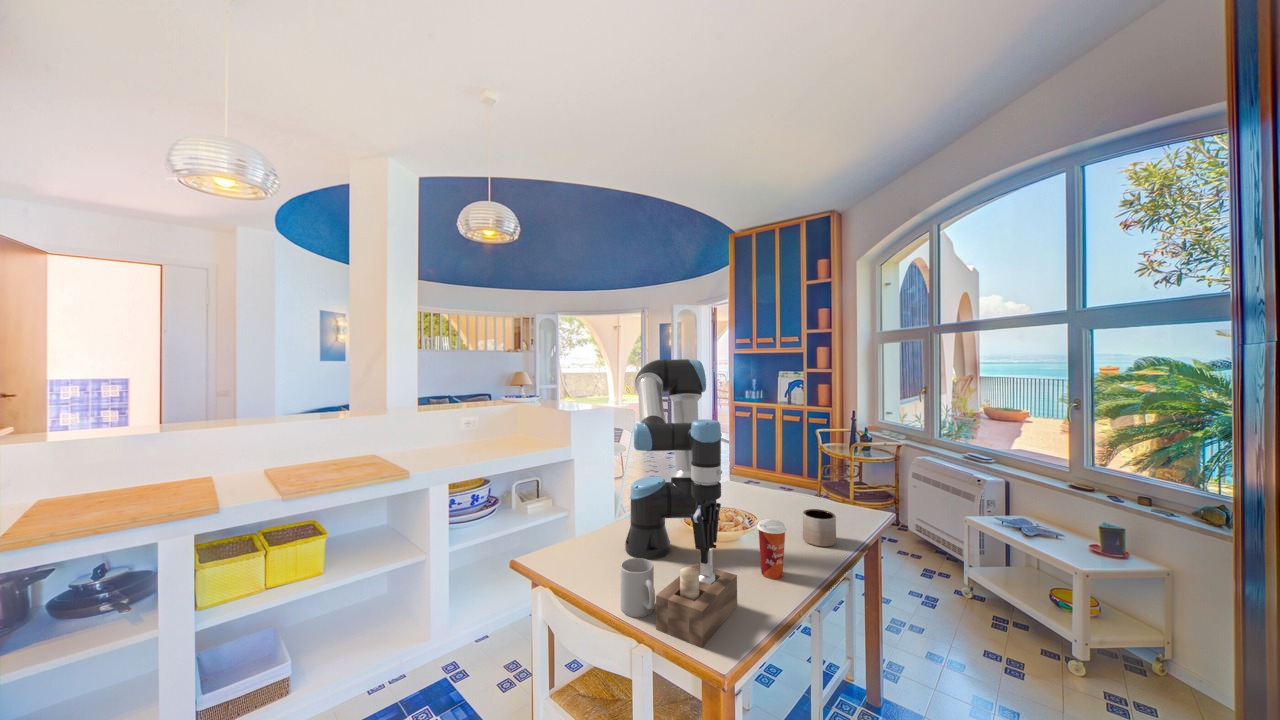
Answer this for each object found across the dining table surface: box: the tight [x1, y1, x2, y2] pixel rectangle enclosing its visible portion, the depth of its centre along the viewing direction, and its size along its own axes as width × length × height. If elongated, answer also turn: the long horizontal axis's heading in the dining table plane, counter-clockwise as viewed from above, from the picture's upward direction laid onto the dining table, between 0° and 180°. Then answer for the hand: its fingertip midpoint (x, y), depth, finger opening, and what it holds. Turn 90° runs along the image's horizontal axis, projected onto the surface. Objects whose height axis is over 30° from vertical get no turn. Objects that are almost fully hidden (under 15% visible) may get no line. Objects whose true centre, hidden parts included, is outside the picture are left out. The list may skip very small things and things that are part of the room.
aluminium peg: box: [699, 572, 715, 585], centre depth 113 cm, size 4×4×8 cm
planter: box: [802, 508, 837, 548], centre depth 155 cm, size 11×11×10 cm
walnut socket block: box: [655, 562, 738, 649], centre depth 109 cm, size 12×20×8 cm, turn 146°
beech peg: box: [679, 566, 699, 601], centre depth 105 cm, size 4×4×8 cm
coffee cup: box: [756, 518, 787, 580], centre depth 131 cm, size 8×8×15 cm
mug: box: [620, 557, 656, 618], centre depth 112 cm, size 12×8×11 cm
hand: (706, 574), depth 113 cm, fingers closed
